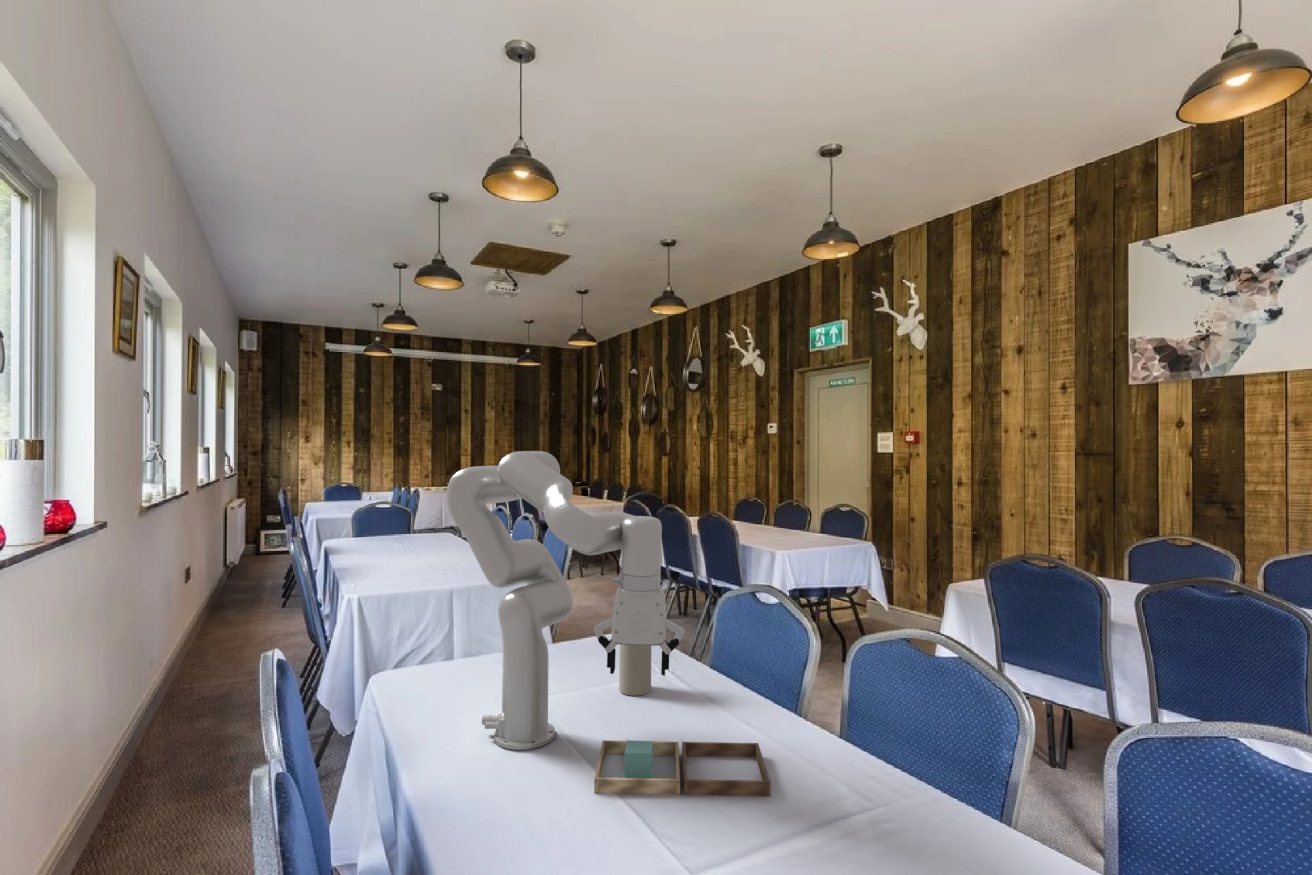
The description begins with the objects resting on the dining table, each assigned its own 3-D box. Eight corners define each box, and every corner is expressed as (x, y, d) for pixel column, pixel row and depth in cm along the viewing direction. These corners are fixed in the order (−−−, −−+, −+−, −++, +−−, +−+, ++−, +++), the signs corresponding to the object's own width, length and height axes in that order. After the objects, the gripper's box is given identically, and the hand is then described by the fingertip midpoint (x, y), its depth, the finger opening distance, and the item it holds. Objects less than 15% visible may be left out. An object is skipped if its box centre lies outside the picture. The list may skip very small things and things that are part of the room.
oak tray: (594, 793, 117) (594, 779, 117) (602, 752, 132) (602, 740, 132) (679, 794, 117) (679, 780, 117) (678, 754, 132) (678, 741, 132)
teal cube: (624, 779, 122) (624, 752, 122) (626, 766, 127) (627, 740, 127) (651, 780, 122) (651, 753, 122) (652, 767, 127) (652, 741, 127)
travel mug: (656, 688, 167) (657, 617, 167) (639, 699, 160) (640, 624, 160) (631, 682, 171) (631, 613, 171) (612, 692, 164) (613, 619, 165)
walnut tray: (684, 794, 117) (684, 780, 117) (682, 754, 132) (682, 741, 132) (770, 796, 117) (770, 782, 117) (758, 755, 132) (758, 743, 132)
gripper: (592, 585, 121) (590, 677, 121) (686, 588, 121) (684, 681, 121) (597, 576, 129) (594, 663, 129) (685, 579, 129) (682, 666, 129)
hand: (637, 672), depth 125 cm, fingers open, 9 cm apart
